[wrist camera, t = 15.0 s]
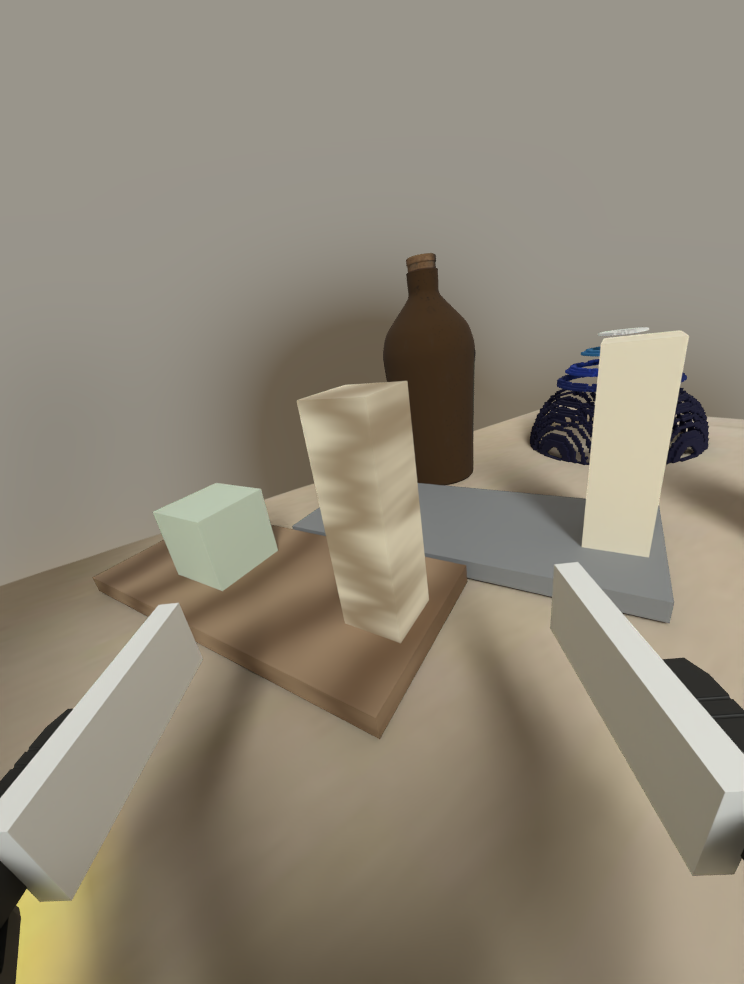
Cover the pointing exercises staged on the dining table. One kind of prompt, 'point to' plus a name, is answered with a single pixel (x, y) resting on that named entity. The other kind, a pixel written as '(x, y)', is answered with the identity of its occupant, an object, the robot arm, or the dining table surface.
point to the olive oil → (434, 375)
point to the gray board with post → (577, 521)
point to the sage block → (217, 533)
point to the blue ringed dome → (693, 437)
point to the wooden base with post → (327, 571)
